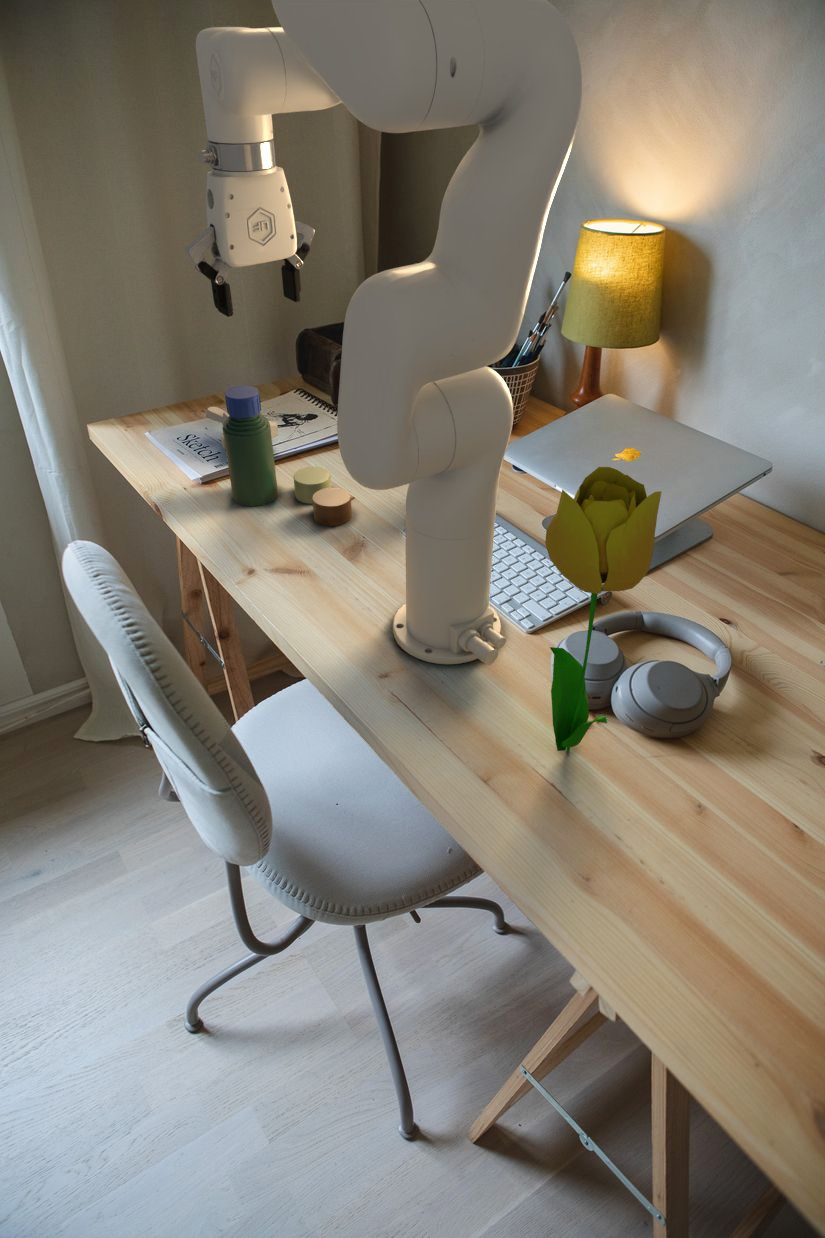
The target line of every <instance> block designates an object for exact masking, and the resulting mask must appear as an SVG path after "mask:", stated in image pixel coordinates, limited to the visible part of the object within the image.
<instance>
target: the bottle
mask: <svg viewBox="0 0 825 1238" xmlns="http://www.w3.org/2000/svg"><path fill="white" fill-rule="evenodd" d="M269 421H270V420H268V418H267V417H266V416H264V415H263V414H262V413H261V412H260V413H259V414H257V415H256V416H253V417H249V418H235V417H232V416H230V415H229V417H228V418H227V419H226V421H225V422H224V424H223V425H222V427H221V428H222V434H223V436H224V442H225V449H224V450H225V454H226V460H227V467H228V474H229V479H230V480H229V481H230V487H231V494H232V499H233V500H234V502H235V503H237V504H238V505H241V506H244V507H259V506H260V507H261V506H264V505H265V506H266V505H268V504H270V503H271V502H273V501H274V500H276V499H277V498H278V495H279V491H278V481H277V473H276V465H275V456H274V448H273V447H274V445H273V438H272V437H271V428H270V423H269Z"/></svg>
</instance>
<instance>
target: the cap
mask: <svg viewBox="0 0 825 1238" xmlns="http://www.w3.org/2000/svg"><path fill="white" fill-rule="evenodd" d="M224 399H225V405H226V406H225V407H226V411H227V413H228V414H229V415H230V416H232V417H235V418H249V417H253V416H256V415H257V414H259V413H261V412H262V405H261V396H260V391H259V389H258V388H257V387H255V386H252V385H235V386H232V387H230V388H227V389H226V390H225V392H224Z"/></svg>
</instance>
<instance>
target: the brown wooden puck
mask: <svg viewBox="0 0 825 1238" xmlns="http://www.w3.org/2000/svg"><path fill="white" fill-rule="evenodd" d="M312 501H313V504H312V512H313V519H314V521H315V522H316V524H319V525H321V526H323V527H324V526H325V527H338V526H342V525H345V524H347V523H348V522H350V521H351V520H352V517H353V509H352V495H351V493H350V491H348V490H346V489H344V488H341V487H331V488H324V489H321V490H319V491H317V492H315V493H314V495H313V497H312Z"/></svg>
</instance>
